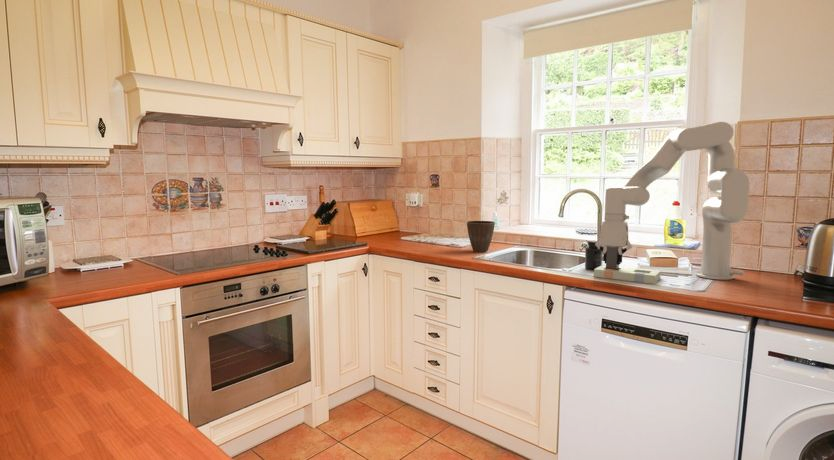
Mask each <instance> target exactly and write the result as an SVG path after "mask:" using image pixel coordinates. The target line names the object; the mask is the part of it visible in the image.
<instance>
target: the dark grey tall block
mask: <svg viewBox="0 0 834 460" xmlns="http://www.w3.org/2000/svg"><path fill="white" fill-rule="evenodd" d="M618 253H619V252H618V247H613V246H607V254H606V263H605V265H606V269H613V270H619V267H620V264H619V265H617V255H618Z"/></svg>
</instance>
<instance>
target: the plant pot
mask: <svg viewBox="0 0 834 460" xmlns="http://www.w3.org/2000/svg"><path fill="white" fill-rule="evenodd" d="M495 224H496V222H495V221H491V220H469V221H466V227H467V234H468V238H469V242H470V245H471V248H472V252H474V251H476V252H475V253H477V252H485V253H487V252H488V251H489V248H490V245H491V243H492V239H493V236H494V230H495ZM486 251H487V252H486Z"/></svg>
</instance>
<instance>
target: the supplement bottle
mask: <svg viewBox="0 0 834 460" xmlns="http://www.w3.org/2000/svg"><path fill="white" fill-rule="evenodd" d="M597 241H598V240H588V241H587V247H586V248H585V249H584V250H585V253H584V268H585V269H586V270H589V271H594V269H596V268H597V267H599V266H601V265H603V252H602V251H601V250H600V248H598V247H597V246H596V245H595V244H596V242H597Z"/></svg>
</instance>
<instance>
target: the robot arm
mask: <svg viewBox="0 0 834 460" xmlns="http://www.w3.org/2000/svg"><path fill="white" fill-rule="evenodd" d="M733 136H734V128H733V126H732V125H731V124H730V123H728V122H726V121H718V122H717V121H716V122H711V123H706V124H703V125H698V126H692V127H687V128H682V129H681V128H680V129H677V130H673V131H672V132H671V133H669V135H667V136H666V138H664V141H662V143H661V144H660V145H659V147H658V148H657V150H656V151H655V152H654V153H653V155H652V156H651V157H650V159H649V160H648V161H647V162H645V163H644V164H643V165H642V166H641V167H640V168H639V169H638V170H637V171H635V173H633V175H632V176H631V177H630V178H629V180H628V181H627V182H626V184H624V186H608V187H607V188H606V189H605V200H604V201H605V202H604V220H603V221H602V223H601V228H600V234H599V238H598V240H596V241H597V242H596V244H595V245H596V246H597V247H598V248H600V250H601V251H602V254H603V261H604V264H606V254H607V246H613V247H618V252H619V253H618V255H617V265H619V266H620V265H621V263H623V255H624V254H625V253H626V252H627V251H629V250H631V249H633V245H632V244H631V242H630V240H629V225H628V221H626V220H629V219H630V216H629V215H627V214H626V209H627V208H626V205H627V206H628V205H629V206H636V207H640V206H643V205H645V204H647V203H648V202H649V200H650V195H651V194H650V192H649V190H648V189H647V188H648V187H649V186H650V185H651V184H652V183H653V182H655V181H656V180H658V179H660V178H662V177H664V176H665V175H667V174H668V173H670V171H671V170H672V168H673V167H675V165H676V163H677V162H678V161H679V160H680V158H681V157H682V156H683V154H685V152H690V151H698V150H705V152H706V153H707V157H708V170H707V187H708V190H710V191H711V192H712V193H715V194H720V196H714V197H711V198H709V199H707V200H706V201H705V202H704V204H702V209H701V211H702V221H703V224H702V225H703V230H702V231H703V232H702V235H703V236H702V245H701V246H702V250H701V261H700V270H699V271H696V273H695V275H696V276H697V277H699V278H703V279H709V280H716V281H717V280H718V281H719V280H720V281H721V280H723V281H728V280H733V279H734V275H736V276H744V270H743V269H742V270H741V269H734V268H732V266H731V250H732V238H733V237H732V236H733V228H732V224H737V223H741V221H743V220H744V219H745V217H746V216H747V215H748V214H747V213H748V210H749V197H750V178H749V176H748V173H746V172H745V171H744V170H742V169H740V168H735V167H736V165H735V164H736V161H735V160H736V158H735V157H736V156H735V150H734V147H733V145H732V144H731V142H730V141H731V140H732V138H733Z"/></svg>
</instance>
